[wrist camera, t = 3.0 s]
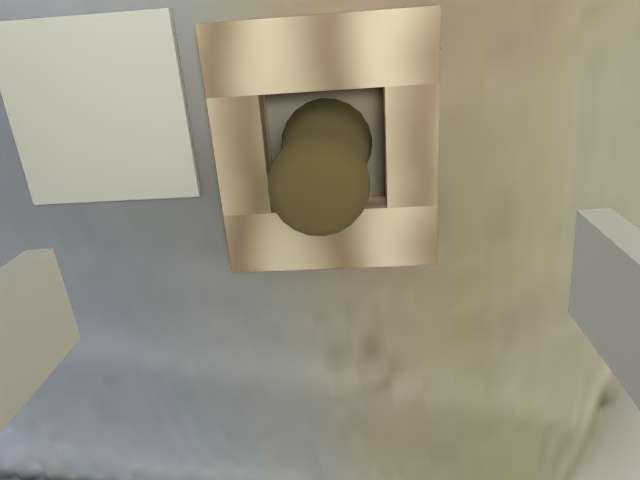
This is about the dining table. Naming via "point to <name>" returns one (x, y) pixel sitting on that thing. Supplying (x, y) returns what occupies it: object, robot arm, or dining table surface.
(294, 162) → the olive peg figure
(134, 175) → the rubber mat
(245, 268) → the socket block
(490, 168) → the dining table surface
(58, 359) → the robot arm
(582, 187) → the dining table surface
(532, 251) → the dining table surface
